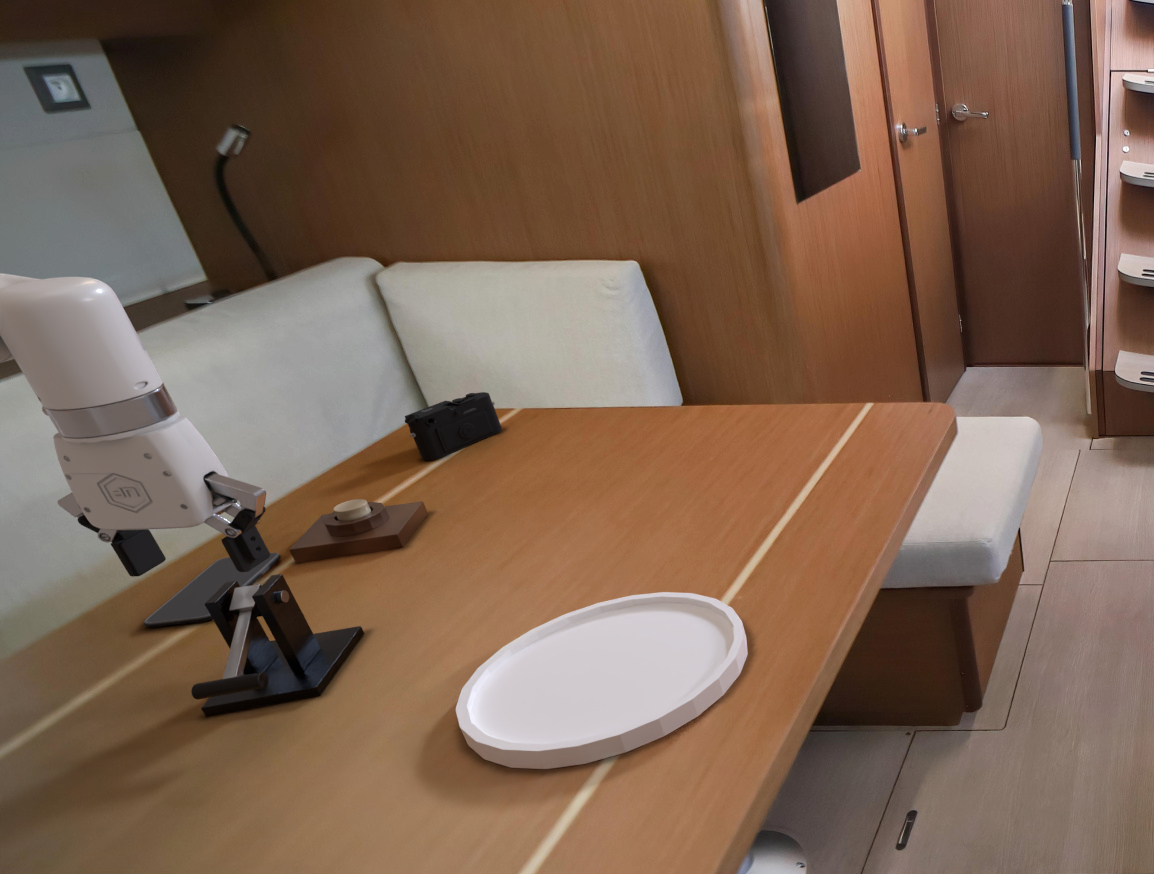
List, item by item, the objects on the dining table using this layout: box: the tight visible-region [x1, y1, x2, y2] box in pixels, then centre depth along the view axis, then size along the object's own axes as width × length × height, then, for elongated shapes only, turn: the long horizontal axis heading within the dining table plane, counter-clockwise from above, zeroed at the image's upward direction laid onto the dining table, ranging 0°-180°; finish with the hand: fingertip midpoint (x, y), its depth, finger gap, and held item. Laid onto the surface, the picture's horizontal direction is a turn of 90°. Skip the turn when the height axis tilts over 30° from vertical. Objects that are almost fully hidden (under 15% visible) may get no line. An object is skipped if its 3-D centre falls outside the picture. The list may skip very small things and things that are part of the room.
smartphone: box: [143, 552, 282, 628], centre depth 124 cm, size 7×1×15 cm
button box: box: [288, 500, 429, 564], centre depth 135 cm, size 12×10×4 cm
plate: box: [454, 591, 749, 770], centre depth 110 cm, size 28×28×2 cm
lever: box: [191, 584, 268, 701], centre depth 103 cm, size 12×6×2 cm, turn 21°
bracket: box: [200, 573, 365, 717], centre depth 108 cm, size 12×10×12 cm
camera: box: [404, 391, 503, 461], centre depth 162 cm, size 14×7×8 cm, turn 165°
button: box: [332, 498, 371, 521], centre depth 134 cm, size 4×4×2 cm
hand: (202, 566), depth 96 cm, fingers open, 9 cm apart
